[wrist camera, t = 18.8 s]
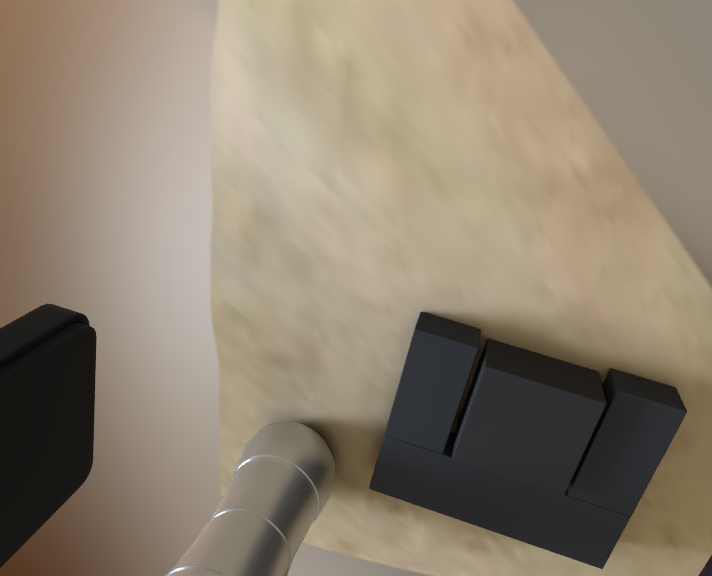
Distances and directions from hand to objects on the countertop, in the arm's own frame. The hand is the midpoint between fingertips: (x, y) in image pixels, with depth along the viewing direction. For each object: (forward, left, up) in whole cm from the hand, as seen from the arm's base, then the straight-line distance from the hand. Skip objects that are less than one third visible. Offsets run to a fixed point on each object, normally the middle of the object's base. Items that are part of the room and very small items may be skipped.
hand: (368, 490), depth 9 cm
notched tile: (+15, +7, -26) cm, 31 cm away
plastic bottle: (+22, -6, -26) cm, 35 cm away
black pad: (+13, +7, -26) cm, 30 cm away
